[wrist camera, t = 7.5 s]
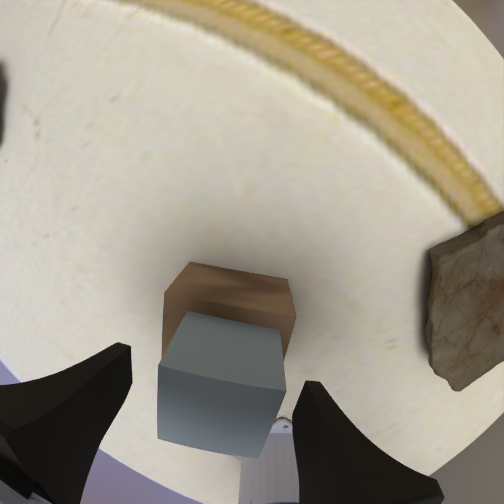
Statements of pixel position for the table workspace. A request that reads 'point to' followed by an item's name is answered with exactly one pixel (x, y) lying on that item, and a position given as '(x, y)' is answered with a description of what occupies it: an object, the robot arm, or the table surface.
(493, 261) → the flat brown rock
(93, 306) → the table surface
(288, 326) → the wood grain block
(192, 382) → the slate cube
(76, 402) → the robot arm
